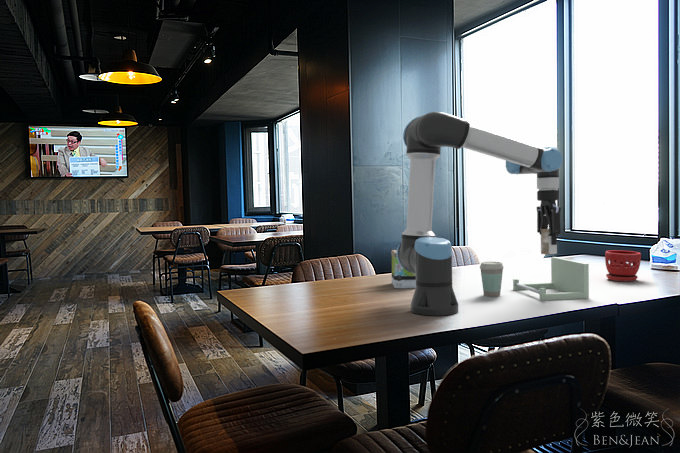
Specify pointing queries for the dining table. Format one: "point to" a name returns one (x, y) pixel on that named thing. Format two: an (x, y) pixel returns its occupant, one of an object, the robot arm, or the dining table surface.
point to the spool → (545, 241)
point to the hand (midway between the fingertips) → (548, 252)
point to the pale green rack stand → (562, 281)
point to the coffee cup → (491, 278)
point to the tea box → (401, 274)
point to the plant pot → (622, 265)
